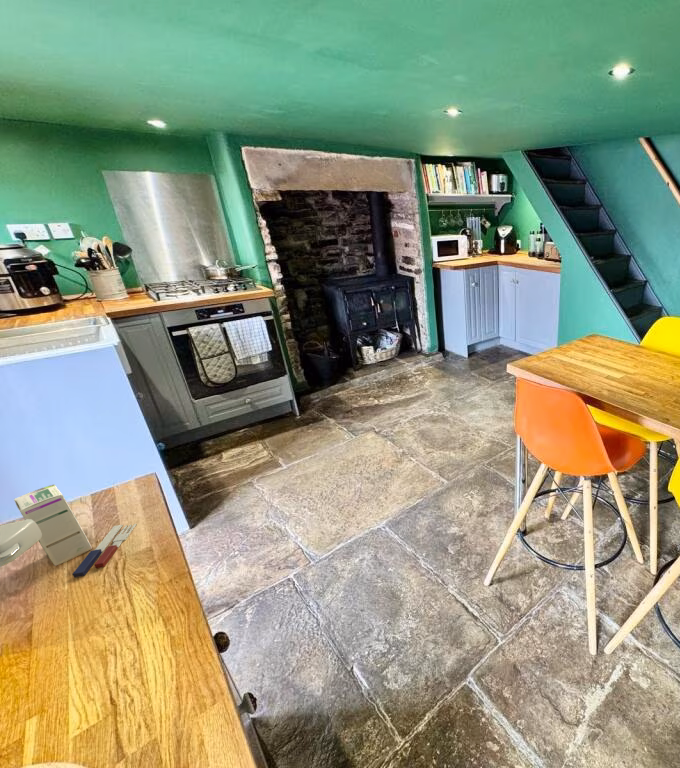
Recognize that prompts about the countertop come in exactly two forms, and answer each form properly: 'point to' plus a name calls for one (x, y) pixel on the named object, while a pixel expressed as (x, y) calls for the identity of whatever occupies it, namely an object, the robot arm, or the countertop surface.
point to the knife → (96, 553)
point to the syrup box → (54, 524)
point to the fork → (114, 546)
